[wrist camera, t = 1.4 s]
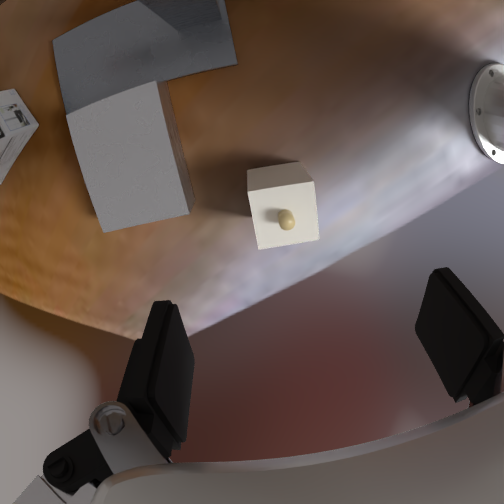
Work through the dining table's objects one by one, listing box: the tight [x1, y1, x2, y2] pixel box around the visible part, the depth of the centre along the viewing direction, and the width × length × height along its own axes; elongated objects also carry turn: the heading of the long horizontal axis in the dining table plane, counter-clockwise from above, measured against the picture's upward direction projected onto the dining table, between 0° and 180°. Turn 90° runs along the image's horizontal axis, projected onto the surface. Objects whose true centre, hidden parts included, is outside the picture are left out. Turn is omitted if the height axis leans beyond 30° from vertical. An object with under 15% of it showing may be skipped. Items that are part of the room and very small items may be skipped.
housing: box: [247, 162, 319, 250], centre depth 26 cm, size 5×5×8 cm
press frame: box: [52, 0, 238, 233], centre depth 15 cm, size 17×21×20 cm
